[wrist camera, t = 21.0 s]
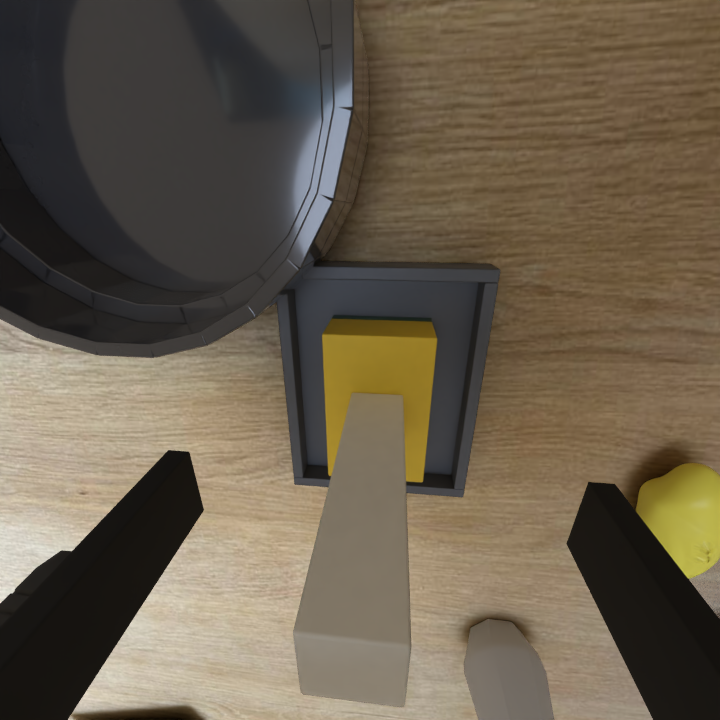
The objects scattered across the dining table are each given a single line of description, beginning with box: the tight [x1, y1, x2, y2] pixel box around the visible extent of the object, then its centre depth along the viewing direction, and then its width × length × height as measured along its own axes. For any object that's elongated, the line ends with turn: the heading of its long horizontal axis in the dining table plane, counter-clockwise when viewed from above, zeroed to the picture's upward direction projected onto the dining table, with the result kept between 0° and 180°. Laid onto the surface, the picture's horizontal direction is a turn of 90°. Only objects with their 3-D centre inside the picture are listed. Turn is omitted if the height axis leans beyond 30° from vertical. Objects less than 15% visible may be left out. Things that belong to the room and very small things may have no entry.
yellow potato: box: [635, 463, 720, 579], centre depth 19 cm, size 4×8×4 cm, turn 178°
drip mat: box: [277, 261, 500, 497], centre depth 19 cm, size 13×10×2 cm
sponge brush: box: [293, 315, 437, 707], centre depth 13 cm, size 8×5×13 cm, turn 0°
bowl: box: [0, 0, 369, 358], centre depth 13 cm, size 18×18×6 cm
